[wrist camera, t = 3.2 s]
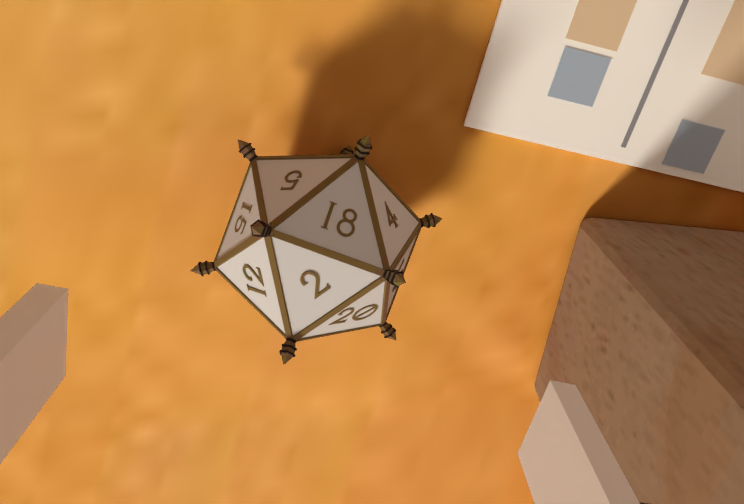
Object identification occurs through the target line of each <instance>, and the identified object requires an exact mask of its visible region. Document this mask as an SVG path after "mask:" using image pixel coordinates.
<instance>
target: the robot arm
mask: <svg viewBox="0 0 744 504" xmlns="http://www.w3.org/2000/svg"><path fill="white" fill-rule="evenodd" d="M67 313H68V289H65V288H60V287H55V286H50V285H44V284H39V283H37V284H36V285H35V286H34V287H32V288H31V289H30V290H29V291H28V292H27V293H26V294H25V295H24V296H23V297H22V298H21V299H20V300H19V301H18V302H17V303H16V304H15V305H13V306H12V307H11V308H10V309H9V310H8V311H7V312H6V313H5V314H4V315H3V316H2V317H1V318H0V464H1V463H2V461H3V460H4V459H5V457H6V456H7V454H8V453H9V452H10V450H11V449H12V448H13V446H14V445H15V444H16V442H17V441H18V440H19V438H20V437H21V435H22V434H23V433H24V431H25V430H26V429H27V427H28V426H29V425H30V423H31V422H32V421H33V419H34V418H35V416H36V415H37V414H38V412H39V411H40V410H41V408H42V407H43V406H44V404H45V403H46V402H47V400H48V399H49V397H50V396H51V395H52V393H53V392H54V391H55V389H56V388H57V387H58V385H59V384H60V382H61V381H62V380H63V378H64V377H65V373H66V343H67ZM518 456H519V459H520V462H521V465H522V468H523V471H524V474H525V477H526V480H527V483H528V486H529V488H530V491H531V494H532V497H533V500H534V503H535V504H648V503H642V502H639V501H638V499H637V497H636V495H635V494H634V492H633V490H632V488H631V486H630V484H629V483H628V481H627V479H626V477H625V475H624V473H623V472H622V470H621V468H620V466H619V464H618V462H617V460H616V459H615V457H614V455H613V453H612V451H611V449H610V448H609V446H608V444H607V442H606V440H605V438H604V437H603V435H602V433H601V431H600V429H599V427H598V425H597V424H596V422H595V420H594V418H593V416H592V414H591V413H590V411H589V409H588V407H587V405H586V403H585V402H584V400H583V398H582V396H581V394H580V392H579V390H578V389H577V387H576V385H573V384H568V383H563V382H557V381H552V380H550V382H549V384H548V386H547V388H546V391H545V393H544V395H543V397H542V400H541V402H540V404H539V406H538V409H537V411H536V413H535V416H534V418H533V420H532V422H531V425H530V427H529V429H528V431H527V434H526V436H525V438H524V440H523V443H522V445H521V447H520V449H519V452H518Z"/></svg>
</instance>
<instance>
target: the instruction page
mask: <svg viewBox="0 0 744 504" xmlns="http://www.w3.org/2000/svg"><path fill="white" fill-rule="evenodd" d="M463 125H464V126H466V127H470V128H475V129H479V130H483V131H487V132H491V133H496V134H500V135H504V136H508V137H512V138H517V139H521V140H525V141H529V142H533V143H538V144H542V145H546V146H550V147H555V148H559V149H563V150H567V151H571V152H576V153H580V154H584V155H588V156H592V157H597V158H601V159H605V160H609V161H613V162H618V163H622V164H626V165H630V166H635V167H639V168H643V169H647V170H651V171H656V172H660V173H664V174H668V175H672V176H677V177H681V178H685V179H689V180H694V181H698V182H702V183H706V184H710V185H715V186H719V187H723V188H727V189H731V190H736V191H740V192H744V0H502V1H501V4H500V7H499V10H498V14H497V17H496V20H495V23H494V27H493V30H492V33H491V36H490V40H489V43H488V46H487V49H486V53H485V56H484V59H483V62H482V66H481V69H480V72H479V75H478V79H477V82H476V85H475V88H474V92H473V95H472V98H471V101H470V105H469V108H468V111H467V114H466V118H465V121H464V124H463Z"/></svg>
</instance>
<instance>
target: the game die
mask: <svg viewBox="0 0 744 504" xmlns="http://www.w3.org/2000/svg"><path fill="white" fill-rule="evenodd" d="M238 143H239V149H240V151H239V152H240V153H242V154H243V155H244V156H243V157H244V158H245V157H246V158H247V159H249V161H250V164H249V167H248V170H247V173H246V175H245V178H244V181H243V184H242V186H241V189H240V192H239V195H238V197H237V200H236V203H235V205H234V208H233V211H232V214H231V216H230V219H229V222H228V225H227V227H226V230H225V233H224V235H223V238H222V241H221V244H220V246H219V249H218V252H217V255H216V257H215V260H214V262H207V261H205V262H203V263H201V262H199V263H198V265H197V266H195V267H194V268H193V269H192V270H190V271H192V272H195V273H198V274H200V275H202V276H203V275H204V274H208V275H209V274H210V272H212V271H217V272H218V273H219V274H220V275H221V276H222V277H223V278H224V279H225V280H226V281H227V282H228V283H229V284H230V285H231V286H232V287H233V288H234V289H235V290H237V291H238V292H239V293H240V294H241V295H242V296H243V297H244V298H245V299H246V300H247V301H248V302H249V303H250V304H251V305H252V306H253V307H254V308H255V309H256V310H257V311H258V312H259V313H260V314H261V315H262V316H263V317H264V318H265V319H266V320H267V321H268V322H269V323H270V324H271V325H272V326H273V327H274V328H275V329H276V330H277V331H278V332H279V333H280V334H281V335H282V336H283V337H284V338H285V339H286V342H285V343H284V344H282V350H280V355H282V360H283V364H285V363H286V362H287V361H289V360H290V359H291V358H292V357H295V355H294V352H295V351H296V350H297V349H296V348H295V343H296V342H298V341H303V340H308V339H313V338H318V337H324V336H329V335H334V334H339V333H344V332H349V331H355V330H360V329H365V328H370V327H375V326H379V327H380V328H381V333H383V334H384V335H385V336H384V338H390V339H393V340H396V334H395V331H396V330H395V329H394V328H392V325H391V324H388V323H387V322H386V320H387V317H388V314H389V312H390V309H391V306H392V304H393V301H394V299H395V296H396V293H397V291H398V288H399V285H401V284H404V283H406V282H405V279H404V276H403V275H404V272H405V269H406V267H407V264H408V262H409V259H410V256H411V254H412V251H413V248H414V246H415V243H416V240H417V238H418V235H419V232H420V230H421V227H423V226H425V227H427V228H430V226H432V227H436V226H435V225H436V224H437V223H438V222H439V221H440V220H441V219H442V218H440V217H437V216H435V215H433V214H432V213H431V215H428V216H427V215H425V217H423V218H418V217H417V215H416V214H415V213H414V212H413V211H412V210H411V209H410V208H409V207H408V206H407V205H406V204H405V202H404V201H403V200H402V199H401V198H400V197H399V196H398V195H397V194H396V193H395V192H394V190H393V189H392V188H391V187H390V186H389V185H388V184H387V183H386V182H385V181H384V180H383V178H382V177H381V176H380V175H379V174H378V173H377V172H376V171H375V170H374V169H373V168H372V167H371V165H370V164H369V163H368V162H367V161H366V160H365V159H364V157H365V156H366V155H369V154H370V153H369V151H370V149H372V146H371V143H370V136H369V135H368V136H366V137H365V138H363V139H360V140H359V141H358V142H357V144H358V145H357V146H356V147H355V150H356V154H353V151H352V150H351V148H350V146H349V147H348V148H345V149H343V150H342V151H341V154H337V155H298V156H257V155H256V154H255V151H254V150H255V148H252V146H251V143H246V142H244V141H241V140H238Z"/></svg>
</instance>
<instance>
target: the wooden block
mask: <svg viewBox="0 0 744 504" xmlns="http://www.w3.org/2000/svg"><path fill="white" fill-rule="evenodd" d="M550 380H552V381H557V382H563V383H568V384H573V385H576V387H577V389H578V390H579V392H580V394H581V396H582V398H583V400H584V402H585V403H586V405H587V407H588V409H589V411H590V413H591V414H592V416H593V418H594V420H595V422H596V424H597V425H598V427H599V429H600V431H601V433H602V435H603V437H604V438H605V440H606V442H607V444H608V446H609V448H610V449H611V451H612V453H613V455H614V457H615V459H616V460H617V462H618V464H619V466H620V468H621V470H622V472H623V473H624V475H625V477H626V479H627V481H628V483H629V484H630V486H631V488H632V490H633V492H634V494H635V495H636V497H637V499H638V501H639V502H642V503H648V504H744V232H738V231H727V230H717V229H707V228H697V227H686V226H676V225H666V224H656V223H645V222H635V221H625V220H615V219H604V218H594V217H592V218H585V219H584V220H583V221H582V223H581V224H580V228H579V231H578V235H577V238H576V242H575V245H574V249H573V252H572V256H571V259H570V263H569V266H568V270H567V273H566V277H565V280H564V284H563V287H562V291H561V294H560V298H559V301H558V305H557V308H556V312H555V315H554V319H553V322H552V326H551V329H550V333H549V336H548V340H547V343H546V347H545V350H544V353H543V357H542V360H541V364H540V367H539V371H538V374H537V378H536V381H535V389H536V393H537V395H538V397H539V400H540V402H541V400H542V397H543V395H544V393H545V391H546V388H547V386H548V384H549V382H550Z"/></svg>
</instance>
